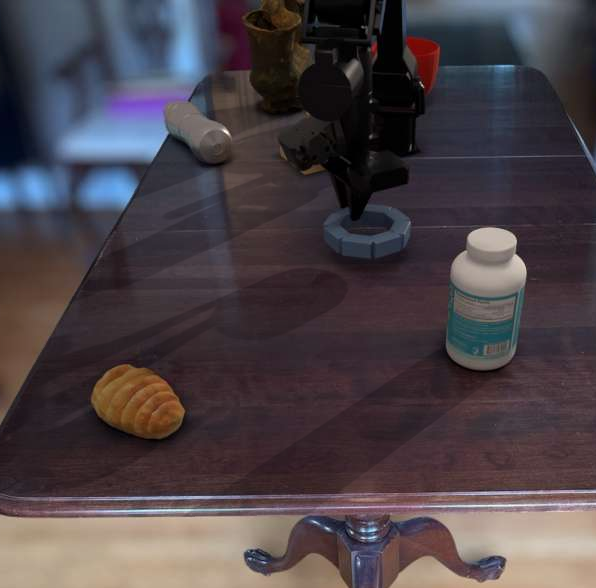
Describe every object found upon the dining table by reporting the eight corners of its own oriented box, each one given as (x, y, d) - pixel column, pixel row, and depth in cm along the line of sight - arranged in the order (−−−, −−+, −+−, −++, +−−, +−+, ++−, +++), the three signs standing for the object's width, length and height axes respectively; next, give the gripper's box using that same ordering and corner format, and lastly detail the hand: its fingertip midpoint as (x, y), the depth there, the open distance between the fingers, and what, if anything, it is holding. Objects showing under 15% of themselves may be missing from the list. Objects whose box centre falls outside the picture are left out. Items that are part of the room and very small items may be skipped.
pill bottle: (469, 324, 80) (481, 213, 71) (527, 349, 77) (546, 235, 68) (431, 355, 76) (437, 241, 67) (490, 383, 72) (505, 266, 64)
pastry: (204, 417, 69) (197, 386, 66) (149, 456, 65) (139, 426, 62) (142, 379, 73) (134, 350, 71) (86, 415, 69) (75, 384, 67)
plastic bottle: (232, 121, 111) (186, 87, 124) (191, 133, 108) (149, 97, 121) (240, 161, 115) (195, 124, 128) (202, 173, 113) (160, 135, 126)
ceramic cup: (351, 91, 142) (349, 36, 135) (436, 92, 141) (438, 37, 135) (346, 114, 132) (345, 56, 126) (438, 115, 132) (441, 56, 125)
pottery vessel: (270, 82, 147) (260, -29, 134) (323, 83, 146) (317, -29, 133) (244, 126, 128) (229, 1, 115) (304, 127, 127) (295, 2, 114)
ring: (381, 211, 95) (381, 197, 94) (424, 244, 89) (424, 229, 87) (311, 230, 92) (311, 216, 90) (351, 265, 85) (350, 250, 83)
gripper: (250, 80, 85) (264, 203, 95) (322, 129, 73) (329, 264, 83) (333, 66, 89) (337, 185, 99) (413, 109, 77) (409, 240, 87)
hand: (350, 216), depth 92 cm, fingers closed on ring, 2 cm apart
